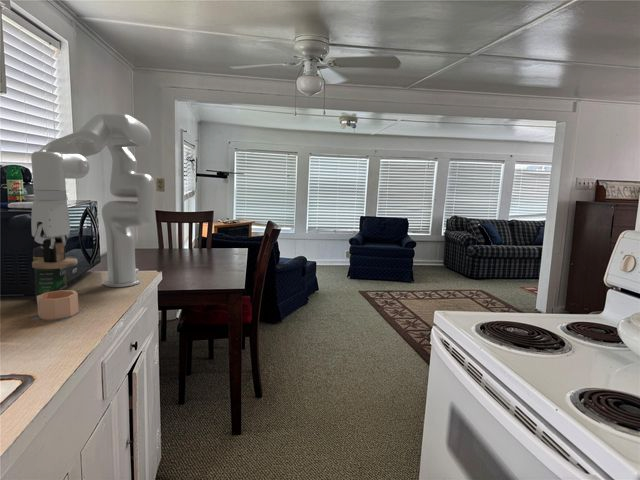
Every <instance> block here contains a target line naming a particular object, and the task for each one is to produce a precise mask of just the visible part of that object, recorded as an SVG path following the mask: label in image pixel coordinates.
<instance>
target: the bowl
mask: <svg viewBox="0 0 640 480" xmlns="http://www.w3.org/2000/svg"><path fill="white" fill-rule="evenodd" d="M36 302H37V316H39V318H40V319H42V320H59V319H65V318H69V317H72V316H74V315H76V314H77V313H78V312H79V294H78V291H76V290H72V289H71V290H69V289H68V290H59V291H52V292H46V293H43V294H41V295H38V296H37V301H36ZM77 315H78V314H77ZM77 315H76V316H77ZM74 317H75V316H74ZM72 318H73V317H72Z"/></svg>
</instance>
